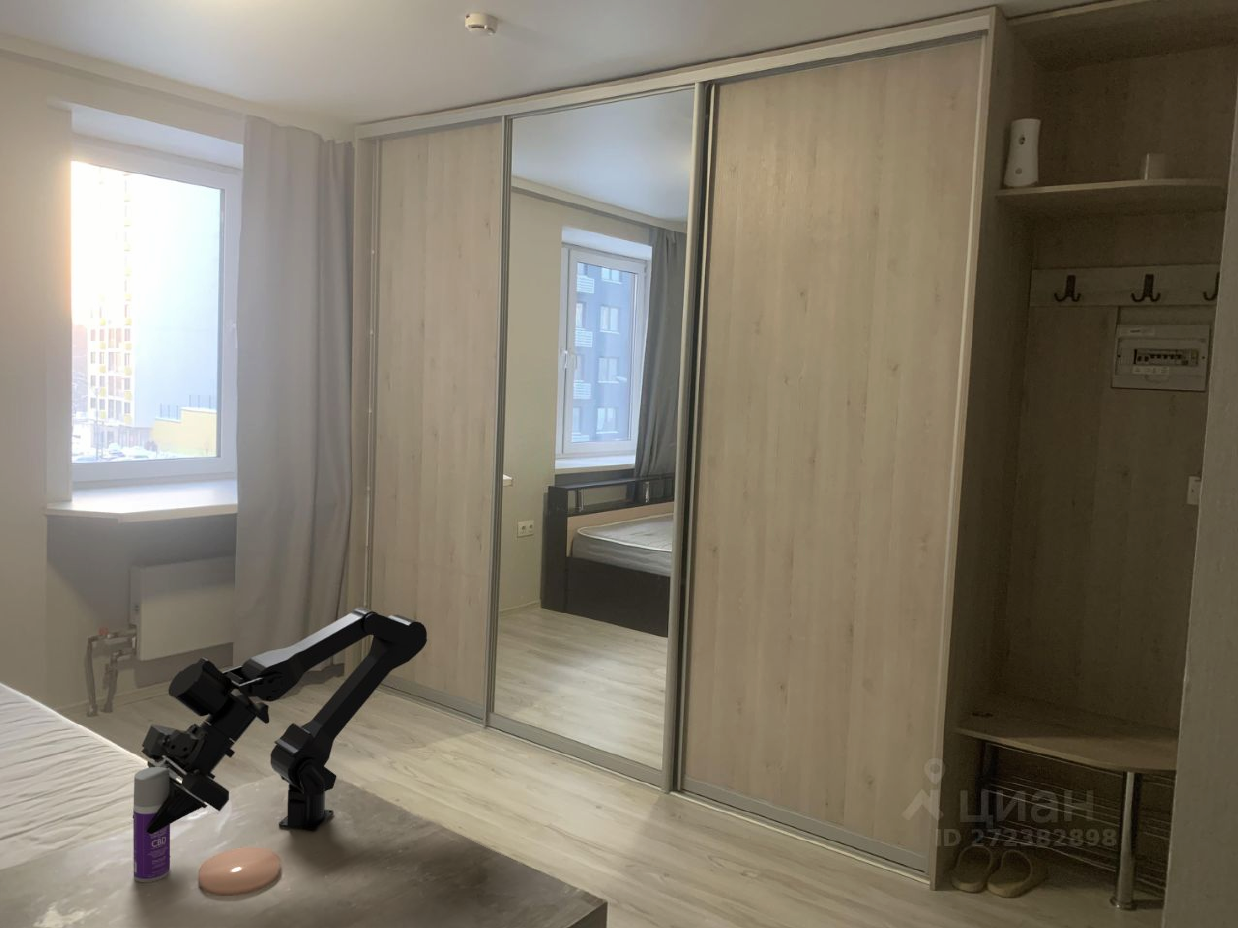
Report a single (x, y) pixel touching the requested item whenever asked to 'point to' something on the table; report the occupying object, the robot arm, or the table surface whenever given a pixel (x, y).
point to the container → (147, 802)
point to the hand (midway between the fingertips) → (141, 825)
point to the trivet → (239, 871)
